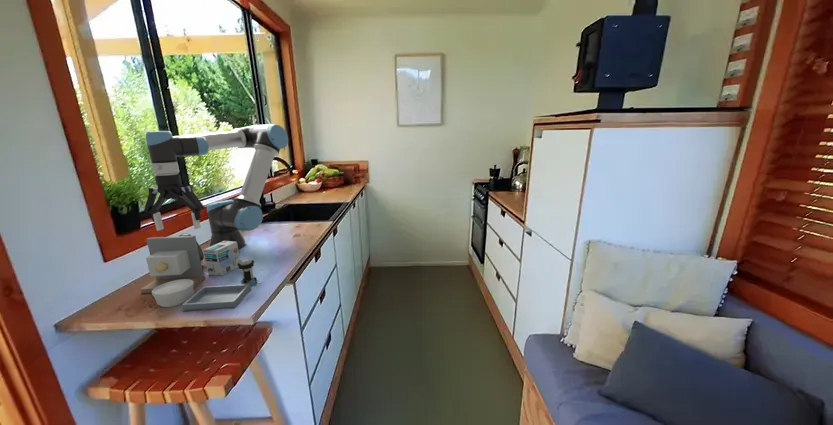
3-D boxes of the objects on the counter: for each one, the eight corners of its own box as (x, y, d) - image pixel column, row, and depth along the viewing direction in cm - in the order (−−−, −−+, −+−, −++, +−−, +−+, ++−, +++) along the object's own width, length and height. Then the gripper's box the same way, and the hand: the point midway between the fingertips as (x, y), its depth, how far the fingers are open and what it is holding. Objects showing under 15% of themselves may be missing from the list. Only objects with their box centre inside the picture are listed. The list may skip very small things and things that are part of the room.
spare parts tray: (205, 292, 109) (203, 286, 108) (251, 290, 110) (250, 283, 110) (183, 311, 97) (181, 304, 97) (235, 308, 99) (233, 301, 98)
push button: (263, 281, 117) (259, 256, 114) (258, 288, 111) (254, 262, 109) (244, 282, 116) (240, 257, 113) (238, 289, 111) (234, 263, 108)
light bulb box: (221, 276, 122) (216, 250, 119) (207, 274, 123) (202, 249, 121) (241, 265, 132) (237, 241, 129) (228, 264, 133) (223, 240, 131)
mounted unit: (161, 280, 119) (151, 237, 115) (205, 277, 121) (196, 235, 116) (140, 293, 109) (128, 246, 105) (188, 290, 111) (178, 244, 106)
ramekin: (170, 293, 110) (167, 279, 108) (203, 291, 110) (200, 277, 109) (146, 310, 99) (142, 295, 97) (182, 308, 99) (179, 293, 98)
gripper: (122, 176, 110) (137, 233, 115) (196, 174, 112) (207, 230, 117) (139, 173, 117) (151, 227, 123) (208, 171, 119) (218, 224, 125)
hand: (179, 229), depth 120 cm, fingers open, 13 cm apart
